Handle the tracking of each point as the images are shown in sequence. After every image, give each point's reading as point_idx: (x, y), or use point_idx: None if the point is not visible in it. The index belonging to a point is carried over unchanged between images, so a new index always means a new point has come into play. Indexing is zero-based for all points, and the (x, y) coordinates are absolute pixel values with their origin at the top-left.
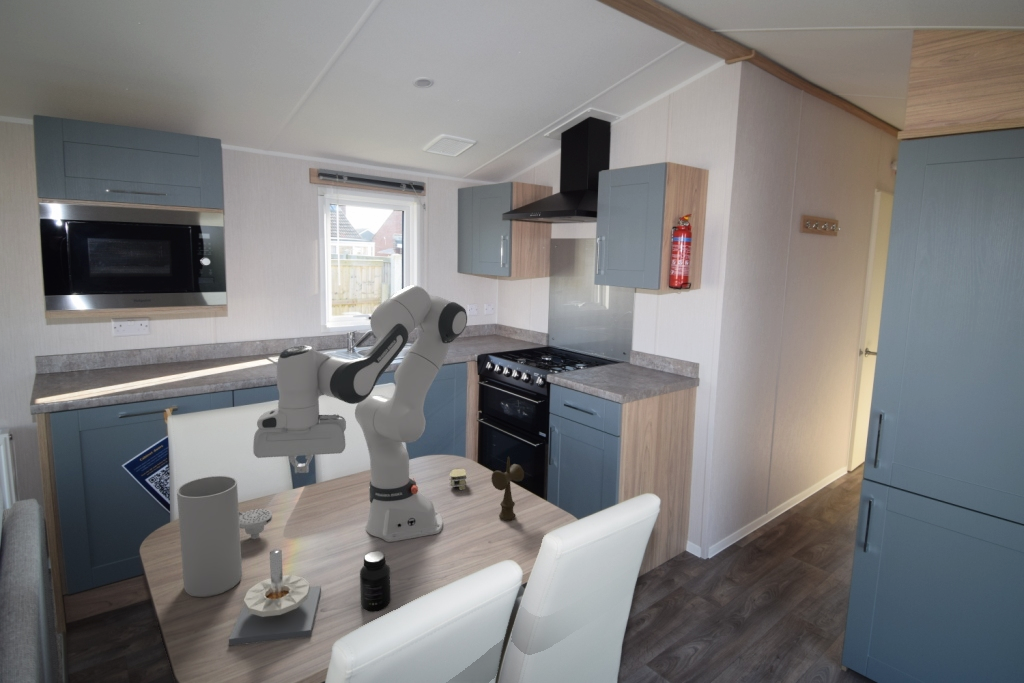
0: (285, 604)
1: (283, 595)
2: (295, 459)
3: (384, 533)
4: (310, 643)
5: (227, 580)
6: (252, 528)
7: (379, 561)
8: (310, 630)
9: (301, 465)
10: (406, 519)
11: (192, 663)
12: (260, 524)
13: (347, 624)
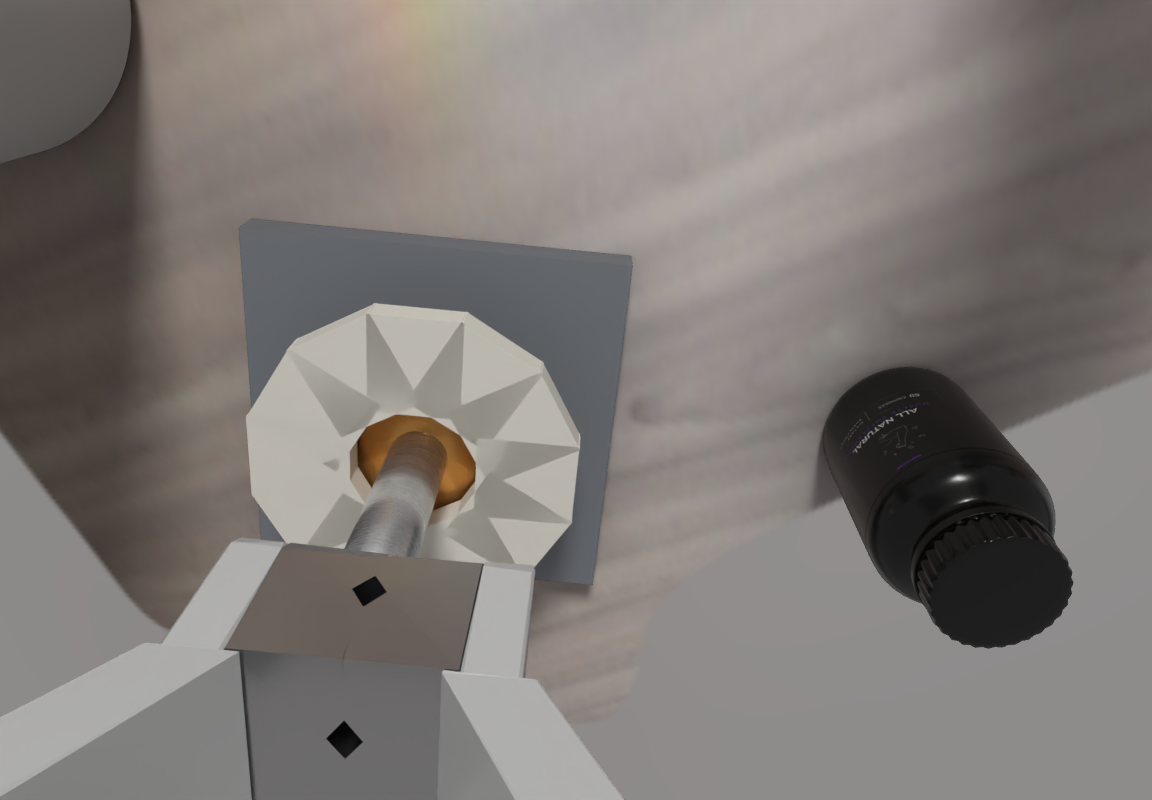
0: None
1: (446, 462)
2: (84, 772)
3: None
4: (592, 600)
5: (65, 126)
6: None
7: (1013, 642)
8: (591, 582)
9: (349, 772)
10: None
11: (168, 592)
12: None
13: (744, 534)
